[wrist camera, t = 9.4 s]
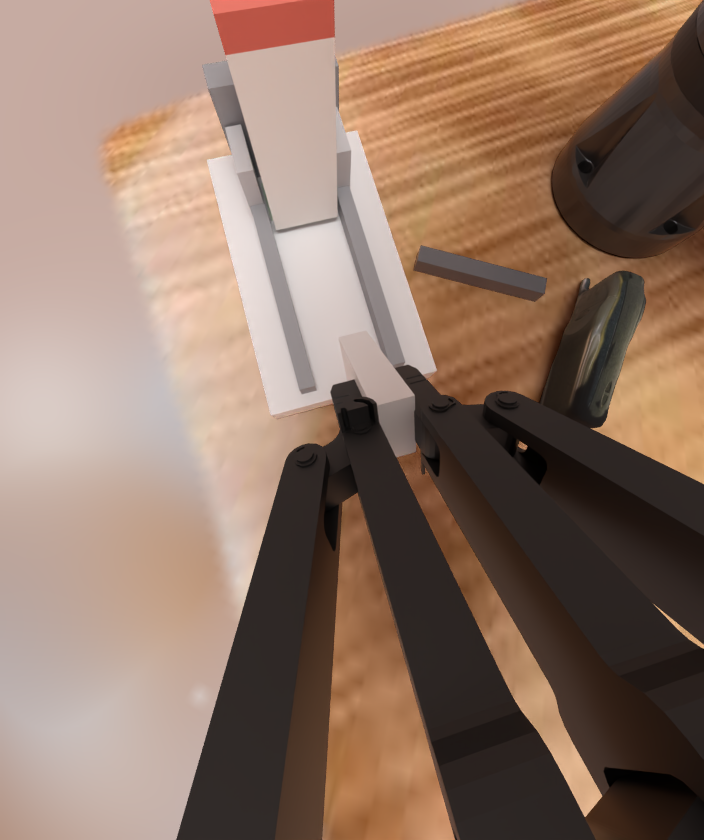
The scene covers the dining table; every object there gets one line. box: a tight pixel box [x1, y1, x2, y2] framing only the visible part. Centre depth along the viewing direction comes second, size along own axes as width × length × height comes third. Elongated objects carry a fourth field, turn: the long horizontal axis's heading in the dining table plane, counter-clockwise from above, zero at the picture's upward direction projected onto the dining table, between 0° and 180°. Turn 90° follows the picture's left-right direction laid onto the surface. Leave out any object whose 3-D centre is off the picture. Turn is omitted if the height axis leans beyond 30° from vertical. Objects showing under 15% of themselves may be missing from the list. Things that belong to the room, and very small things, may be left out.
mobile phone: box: [540, 271, 646, 428], centre depth 23 cm, size 5×3×15 cm
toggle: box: [210, 0, 338, 230], centre depth 18 cm, size 5×5×11 cm
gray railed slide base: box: [202, 57, 437, 419], centre depth 21 cm, size 24×14×8 cm, turn 16°
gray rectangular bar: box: [414, 246, 547, 302], centre depth 25 cm, size 12×2×2 cm, turn 76°
